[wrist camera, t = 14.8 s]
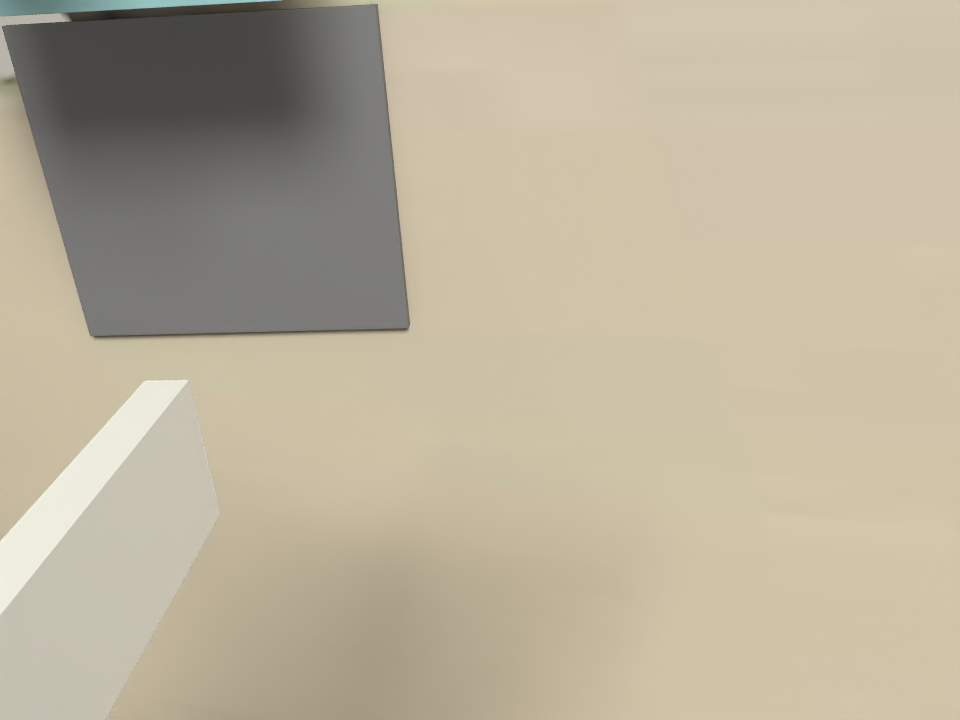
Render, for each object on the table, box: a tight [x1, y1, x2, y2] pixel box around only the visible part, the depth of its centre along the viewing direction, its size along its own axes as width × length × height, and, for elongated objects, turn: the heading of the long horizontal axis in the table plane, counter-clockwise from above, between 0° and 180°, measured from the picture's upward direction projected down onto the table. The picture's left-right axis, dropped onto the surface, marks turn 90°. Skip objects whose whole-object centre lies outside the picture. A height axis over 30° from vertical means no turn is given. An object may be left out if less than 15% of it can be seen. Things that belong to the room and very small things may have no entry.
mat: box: [2, 4, 410, 336], centre depth 48 cm, size 20×18×1 cm
